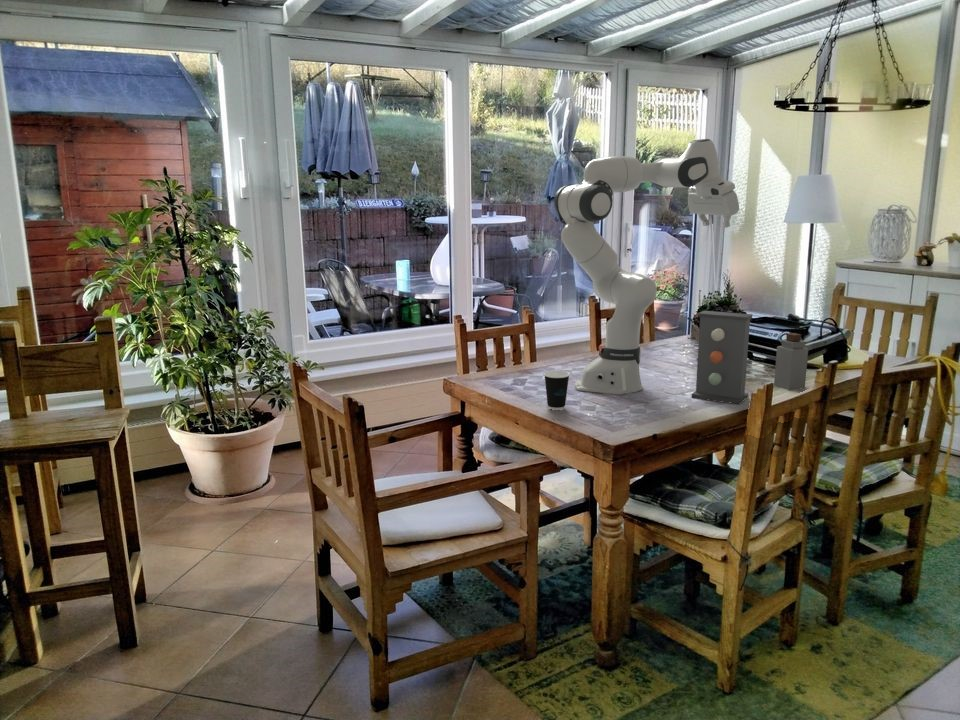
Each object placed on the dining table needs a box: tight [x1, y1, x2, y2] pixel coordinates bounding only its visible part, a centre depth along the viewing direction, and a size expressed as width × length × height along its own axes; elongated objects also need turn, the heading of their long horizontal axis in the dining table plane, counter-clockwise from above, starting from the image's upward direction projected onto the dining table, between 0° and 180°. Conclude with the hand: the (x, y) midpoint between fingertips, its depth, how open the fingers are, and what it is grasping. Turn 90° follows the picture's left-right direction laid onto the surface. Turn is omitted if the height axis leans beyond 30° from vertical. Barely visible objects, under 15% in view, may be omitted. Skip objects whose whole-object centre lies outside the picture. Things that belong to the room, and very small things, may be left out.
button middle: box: [710, 351, 723, 363], centre depth 227 cm, size 4×3×4 cm
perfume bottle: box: [773, 332, 809, 391], centre depth 244 cm, size 7×7×18 cm
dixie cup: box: [543, 370, 571, 411], centre depth 224 cm, size 8×8×11 cm
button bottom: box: [708, 373, 722, 385], centre depth 228 cm, size 4×3×4 cm
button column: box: [691, 310, 753, 404], centre depth 231 cm, size 15×10×27 cm, turn 56°
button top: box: [711, 328, 725, 341], centre depth 225 cm, size 4×3×4 cm
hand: (716, 226), depth 249 cm, fingers open, 8 cm apart
